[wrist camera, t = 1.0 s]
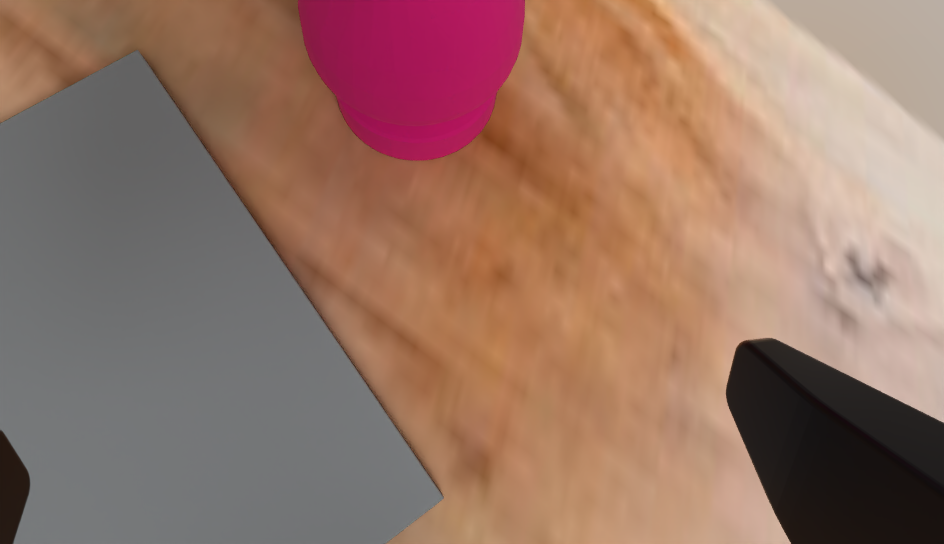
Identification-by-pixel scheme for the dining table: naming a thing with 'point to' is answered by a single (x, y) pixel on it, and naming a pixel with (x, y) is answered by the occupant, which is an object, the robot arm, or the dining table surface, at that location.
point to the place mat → (172, 346)
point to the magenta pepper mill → (414, 67)
